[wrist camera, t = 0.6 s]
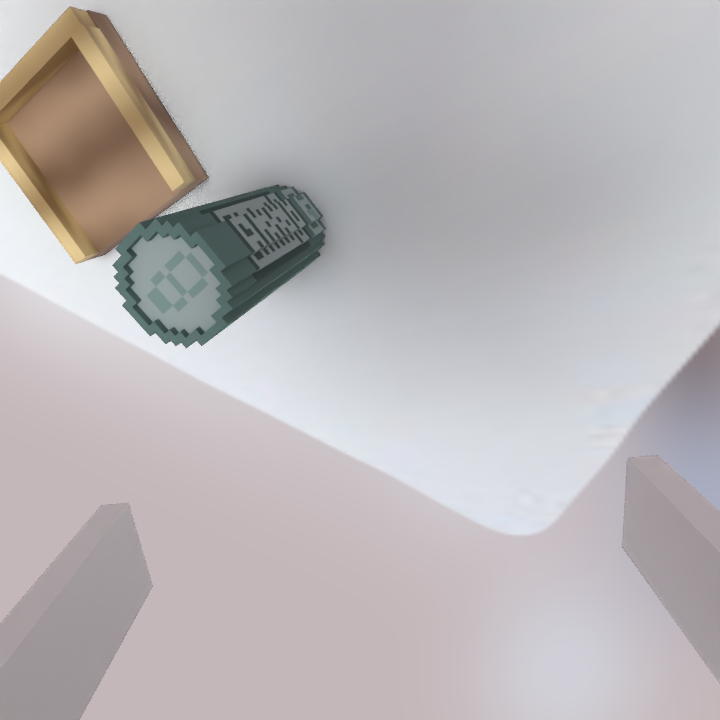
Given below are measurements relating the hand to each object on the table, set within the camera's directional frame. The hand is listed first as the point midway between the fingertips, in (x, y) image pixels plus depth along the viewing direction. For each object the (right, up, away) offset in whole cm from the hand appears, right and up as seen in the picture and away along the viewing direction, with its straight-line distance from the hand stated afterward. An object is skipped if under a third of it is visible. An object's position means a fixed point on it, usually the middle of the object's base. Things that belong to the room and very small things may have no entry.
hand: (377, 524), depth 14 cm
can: (-6, +14, +25) cm, 29 cm away
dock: (-20, +20, +25) cm, 38 cm away
